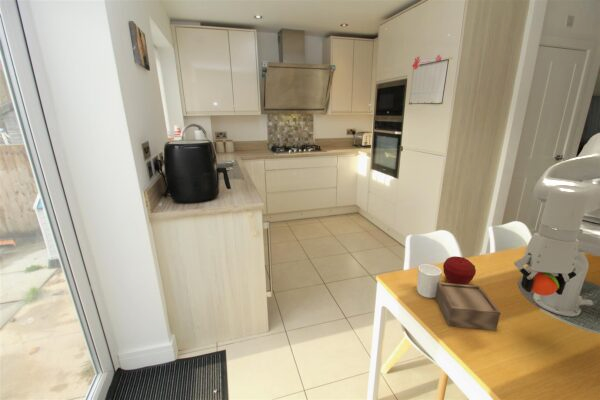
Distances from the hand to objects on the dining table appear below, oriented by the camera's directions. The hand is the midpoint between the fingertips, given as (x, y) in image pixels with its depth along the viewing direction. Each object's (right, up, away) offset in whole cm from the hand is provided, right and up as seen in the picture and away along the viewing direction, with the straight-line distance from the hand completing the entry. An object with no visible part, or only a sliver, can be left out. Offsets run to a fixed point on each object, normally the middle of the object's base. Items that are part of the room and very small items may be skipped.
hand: (541, 290), depth 78 cm
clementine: (0, -2, 0) cm, 2 cm away
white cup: (-20, -10, +28) cm, 35 cm away
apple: (-5, -9, +33) cm, 34 cm away
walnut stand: (-12, -13, +17) cm, 24 cm away
